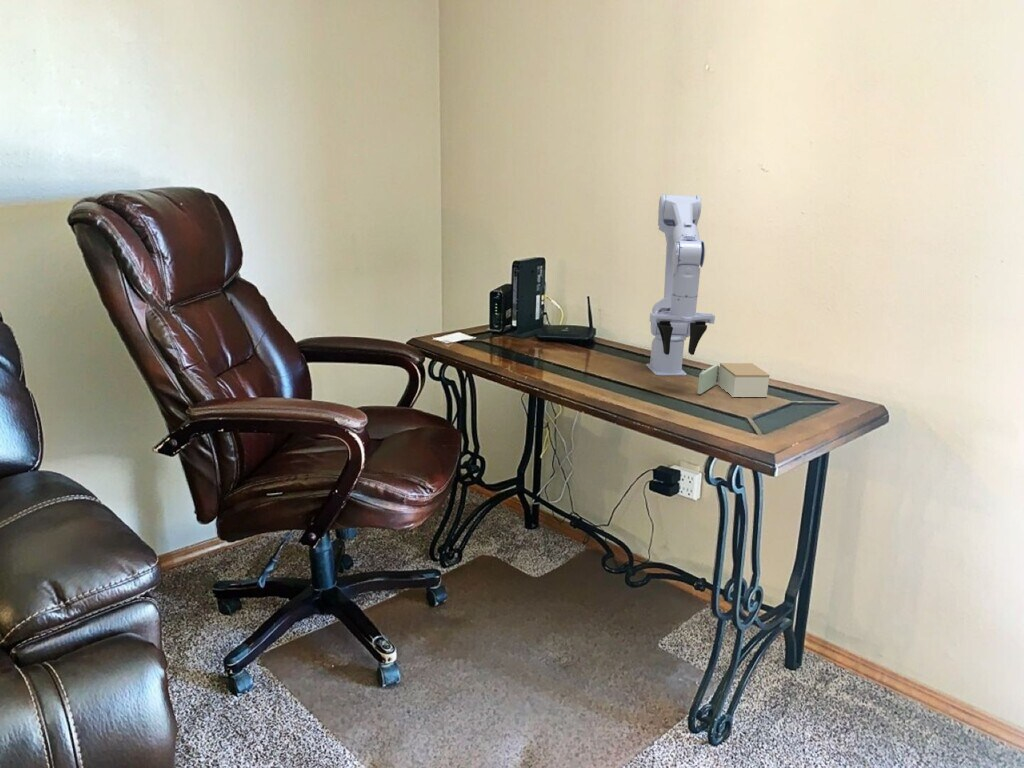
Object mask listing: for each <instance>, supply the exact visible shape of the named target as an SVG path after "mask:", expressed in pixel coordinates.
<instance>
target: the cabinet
mask: <svg viewBox="0 0 1024 768" xmlns="http://www.w3.org/2000/svg"><path fill="white" fill-rule="evenodd" d="M770 377H771V375H770V374H769V373H767V372H766V371H764V370H762V369H761V368H760V367H758V366H757V365H755V364H754V363H752V362H746V363H745V362H737V363H736V362H735V363H733V362H723V363H722V362H720V363H719V372H718V381H717V386H718V387H719V386H720V387H721V388H720V387H719V388H720V389H722V390H723V389H724V390H725V391H726V392H728V393H729V394H730V395H731V396H732V397H767V395H768V390H769V389H768V387H769V383H770V381H769V380H770ZM724 390H723V391H724ZM725 391H724V392H725ZM726 392H725V393H726ZM728 393H727V394H728ZM729 394H728V395H729ZM730 395H729V396H730ZM731 396H730V397H731Z"/></svg>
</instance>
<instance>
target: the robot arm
mask: <svg viewBox="0 0 1024 768" xmlns="http://www.w3.org/2000/svg"><path fill="white" fill-rule="evenodd" d="M658 201H659V202H658V210H657V211H658V212H657V213H658V214H657V215H658V216H657V217H658V219H657V225H658V230H659V231H661V232H662V233H664V237H665V241H666V242H665V243H666V249H665V250H666V251H665V253H666V254H665V266H664V267H665V270H664V292H663V298H662V299H660V300H658V301H657V302H655V304H653V306H652V311H651V312H650V313H649V322H650V334H652V336H654V338H653V339H652V341H651V348H650V349H651V350H650V359H649V363H646V364H645V366H647V368H648V369H649V370H650V371H651V372H652V373H653V374H654V375H655V376H684V377H685V376H687V373H686V371H684V370H683V368H682V367H683V360H684V359H683V358H684V349H685V341H686V340H687V338H689V343H688V352H687V353H688V354H690V355H691V356H695V352H696V350H697V348H698V344H699V343H700V341H701V338H702V337H703V335H704V334H705V332H707V330H708V329H707V328H708V325H707V324H710V325H711V324H715V321H716V320H715V319H716V315H715V314H713V313H703V312H697V307H698V306H697V304H698V295H699V287H700V285H699V284H700V278H701V277H700V275H701V268H703V265H704V263H705V258H706V245H705V241H704V240H703V239H700V234H699V233H700V232H699V229H698V223H699V220H700V217H701V213H702V198H701V196H700V195H698V194H697V195H686V194H685V195H682V194H665V193H662V195H661V196H659V199H658Z"/></svg>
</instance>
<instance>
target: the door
mask: <svg viewBox="0 0 1024 768" xmlns="http://www.w3.org/2000/svg"><path fill="white" fill-rule="evenodd" d="M719 369H720V365H719V364H713V365H712V366H710V367H708V368H707V369H704V370H703V371H702V372H700V373H699V375H698V376H699V377H698V383H697V385H698V386H697V394H699V395H702V394H703V393H704V392H706V391H708V390H710V389H711V388H713V387H714V386H716V385H717V384H718V378H719Z"/></svg>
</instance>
